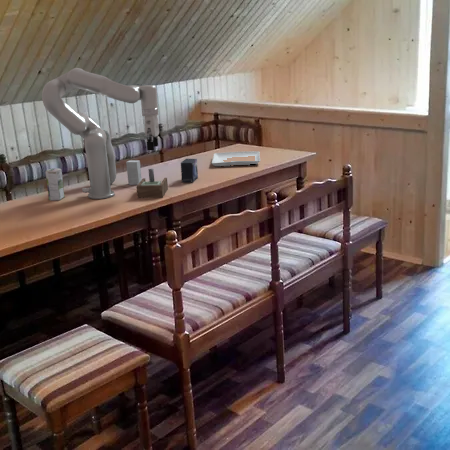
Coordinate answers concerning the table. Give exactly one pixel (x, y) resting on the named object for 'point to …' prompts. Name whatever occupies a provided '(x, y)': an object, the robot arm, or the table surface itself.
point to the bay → (152, 190)
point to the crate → (151, 179)
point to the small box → (189, 170)
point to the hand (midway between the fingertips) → (152, 148)
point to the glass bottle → (110, 158)
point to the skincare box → (133, 172)
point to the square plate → (220, 157)
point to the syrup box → (55, 184)
